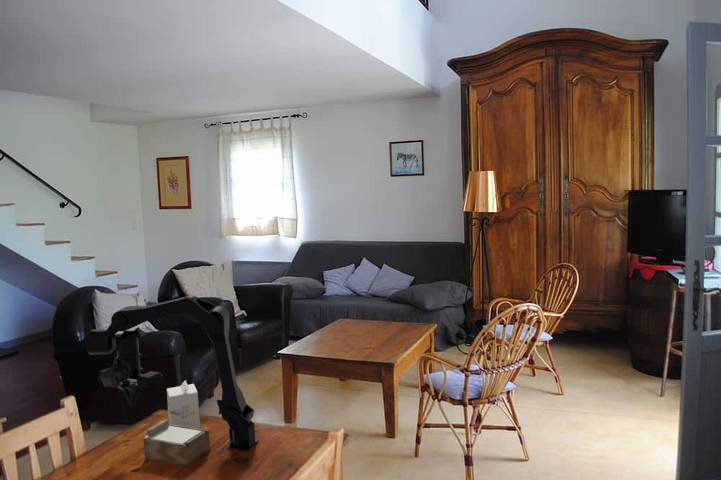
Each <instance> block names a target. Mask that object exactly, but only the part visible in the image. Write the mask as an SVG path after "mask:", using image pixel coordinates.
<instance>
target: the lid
mask: <svg viewBox="0 0 721 480" xmlns="http://www.w3.org/2000/svg"><path fill="white" fill-rule="evenodd" d="M146 431H147V435H145V436H144V438H150V439H156V440H162V441H167V442H173V443H179V444H184V445H185V442H187V441H188V440H190V439H192V438H193V437H195V436H196V435H198V434H199V433H201V432H202V431H199V430H193V429H186V428H180V427H174V426H169V419H162V421H160V422H158V423H156V424H154V425H153V426H151V427H149V428H147V429H146Z"/></svg>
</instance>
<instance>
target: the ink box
mask: <svg viewBox="0 0 721 480" xmlns="http://www.w3.org/2000/svg"><path fill="white" fill-rule="evenodd" d="M198 393H199V392H198V390H197V388H196V386H195V384H194V383H191V384H188V383H187V380H184V381H183V382H182V383H181V384H180V385H179V386H175V387H174V386H173V387H168V388H166V396H167V398H166V399H167V415H168V418H167V420H168V423H169V424H174V425H180V426H186V427H193V428H199V429H201V422H200V409H199V397H198Z"/></svg>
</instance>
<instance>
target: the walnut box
mask: <svg viewBox="0 0 721 480" xmlns="http://www.w3.org/2000/svg"><path fill="white" fill-rule="evenodd" d="M169 426H174V427H180V428H186V429H193V430H199V431H202V432H201V433H199V434H198V435H196V436H195V437H193V438H192V439H190V440H188V441H187V442H185V445H184V444H179V443H173V442H167V441H162V440H156V439H150V438H145V437H143V438H142V439H143V449H144V459H145V460H148V461H154V462H157V463H163V464H168V465H174V466H178V467H185V468H188V467H189V466H191V465H192V464H193V463H194V462H196V461H198V460H199V459H201V458H202V457H203V456H204V455H205V454H207V453H208V452H210V451H211V445H210V444H211V443H210V430H209V429H205V428H193V427H186V426H180V425H174V424H169Z"/></svg>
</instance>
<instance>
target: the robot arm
mask: <svg viewBox="0 0 721 480" xmlns="http://www.w3.org/2000/svg"><path fill="white" fill-rule="evenodd" d="M185 312H186V313H188V314H189V315H190V316H191V317H192V318H194V319H195V320H196V321H197V322H199V323H201V324H203V326H204V329H205V332H206V334H207V336H208V338H209V339H210V340H211V342H212V344H213V349H214V350H213V351H214V354H215V355H214V357H215V360H216V365H217V370H218V375H219V380H220V386H221V393H220V395H219V396H218V397H217V400H216V403H217V407H218V409H219V410H218V411H219V412H218V415H221V418H222V419H223V421H225V422H226V423H227V424H228V427H229V429H228V432H229V433H228V434H229V435H228V437H229V444H227V448H231V449H236V450H239V451H240V450H241V451H248V450H249V449H251V448H252V447H253V446H254V445H256V444H257V443H258V442H259V438H256V427H255V422H253V421H252V418H253V417H254V415H255V409H253V408H252V407H251V406H250V405H249V404H248V403H247V401H246V398H245V397H244V393H243V392H242V390H241V388H240V387H239V385H238V381H237V376H236V370H235V366H234V361H233V354H232V350H231V345H230V341H229V335H230V333H229V332H230V313H229V311H228V309H227V308H225V307H224V306H220V305H219V306H217V305H215V304H213V302H209V301H206V300H203V299H201V298H200V297H198V296H197V295H194V294H189V295H187V296H183V297H180V298H176V299H172V300H167V301H163V302H159V303H154V304H149V305H133V306H132V305H130V306H125V307H123V308H121V309H119V310H117V311H115V312H114V313H113V314H112V316H111V318H110V322H111V323H110V324H109V326H108V327H107V329H91V330H89V331H88V337H87V340H86V344H85V348H86V352H87V354H88V355H106V354H107V355H109V354H112V353H113V352H114V351H115V350H116V357H114V358H113V365H112V366H111V367H108V368H106V369H103V370H100V371H99V373H98V375H97V379H98V380H97V382H98V383H102V384H103V387H106V388H107V387H108V388H114V389H116V388H118V389H120V390H121V392H122V393H123V395H124V397H125V399H126V401H127V404H128V405H129V407H130V408H134V407H136V404H137V402H138V398H140V397H139V396H140V394H141V392H142V390H143V389H151V388H153V387H155V386H156V385H159V384H161V383H164V377H163V373H161V372H160V371H151V370H150V371H148V372H146V373H144V372H145V368H144V367H141V360H140V359H142V358H143V357H144V355H143V353H140V349H139V347H140V346H139V345H140V344H139V338H142V337H143V336H144V335H146V332H145V331H144V330H142V329H141V328H140V326H139V325H141V324H143V323H146V322H149V321H152V320H156V319H160V318H164V317H169V316H172V315H177V314H181V313H182V314H183V313H185ZM137 326H139V327H137ZM135 327H136V328H135ZM133 328H135V329H133ZM130 329H133V330H130ZM119 332H122V333H119ZM142 373H144V374H142Z"/></svg>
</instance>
